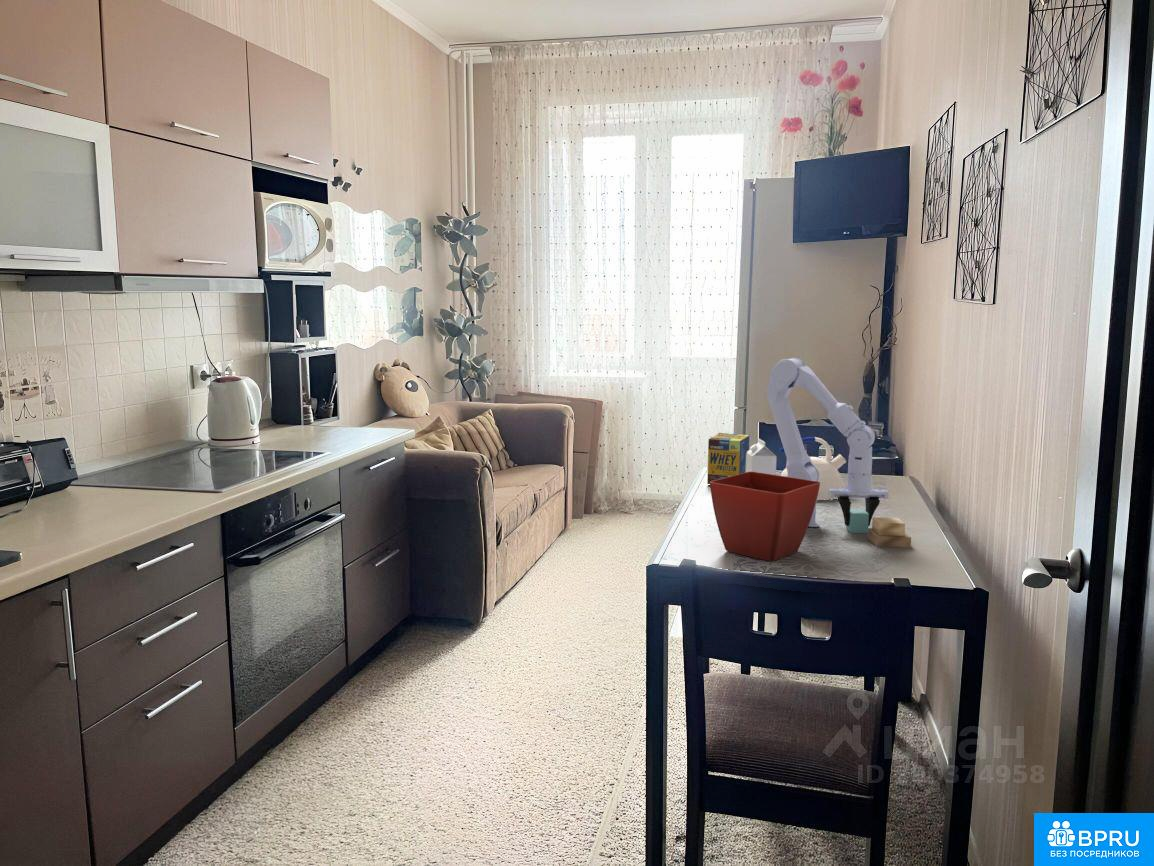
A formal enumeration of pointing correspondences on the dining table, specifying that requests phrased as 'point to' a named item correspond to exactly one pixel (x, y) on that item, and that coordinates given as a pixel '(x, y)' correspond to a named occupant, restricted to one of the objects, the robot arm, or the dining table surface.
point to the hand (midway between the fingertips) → (857, 525)
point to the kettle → (825, 470)
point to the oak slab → (888, 526)
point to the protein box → (727, 455)
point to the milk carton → (761, 459)
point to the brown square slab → (889, 540)
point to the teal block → (858, 521)
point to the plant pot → (763, 513)
